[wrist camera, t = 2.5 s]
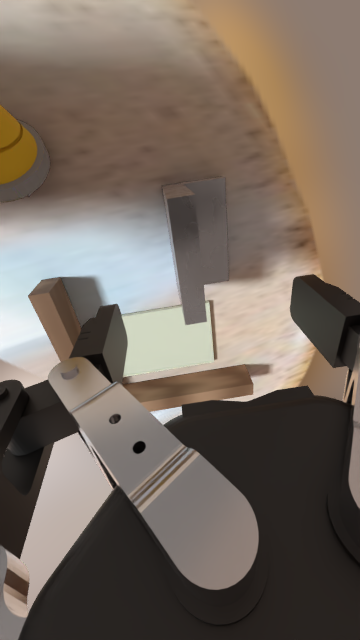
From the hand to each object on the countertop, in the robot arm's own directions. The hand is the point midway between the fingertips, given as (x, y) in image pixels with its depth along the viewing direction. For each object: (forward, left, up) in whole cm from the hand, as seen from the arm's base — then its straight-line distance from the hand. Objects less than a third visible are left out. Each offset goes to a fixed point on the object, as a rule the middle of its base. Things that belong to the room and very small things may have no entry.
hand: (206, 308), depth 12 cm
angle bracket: (+1, 0, -12) cm, 12 cm away
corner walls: (-4, -9, -11) cm, 15 cm away
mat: (-4, -10, -11) cm, 16 cm away
